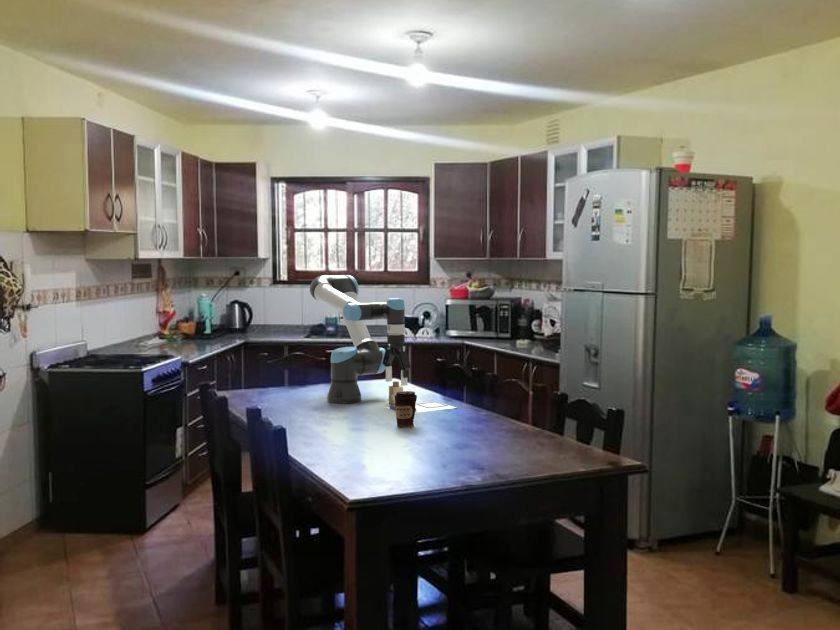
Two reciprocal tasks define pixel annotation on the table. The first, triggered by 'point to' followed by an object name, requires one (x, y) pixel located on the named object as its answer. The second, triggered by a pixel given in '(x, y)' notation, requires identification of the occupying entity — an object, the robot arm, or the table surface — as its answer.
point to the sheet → (429, 406)
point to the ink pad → (394, 408)
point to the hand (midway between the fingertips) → (396, 383)
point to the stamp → (394, 392)
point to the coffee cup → (405, 408)
